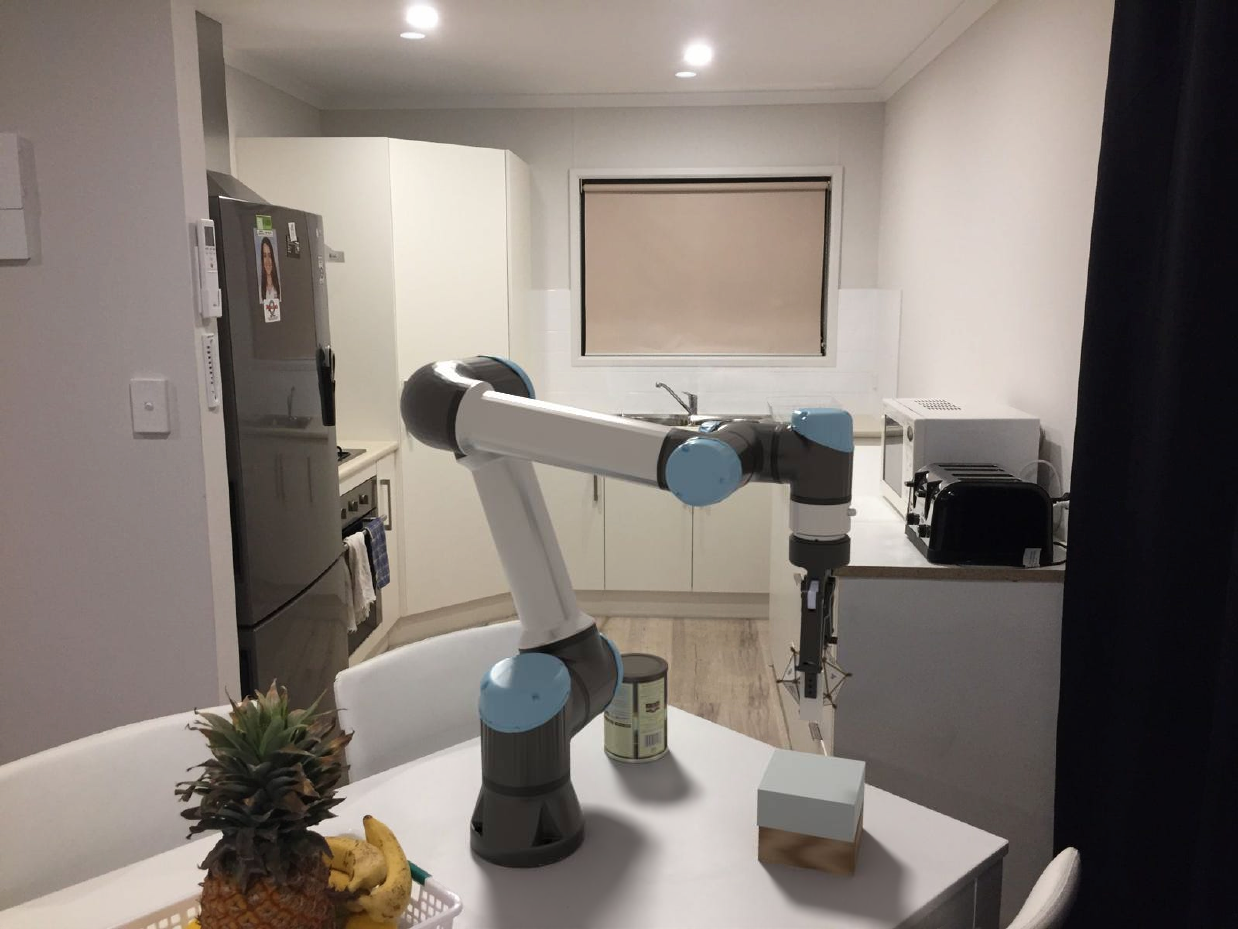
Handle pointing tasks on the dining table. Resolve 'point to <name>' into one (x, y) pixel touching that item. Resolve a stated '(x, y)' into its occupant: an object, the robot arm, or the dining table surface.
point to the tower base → (810, 850)
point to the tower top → (811, 794)
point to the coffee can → (638, 711)
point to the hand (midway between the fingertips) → (815, 705)
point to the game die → (831, 678)
